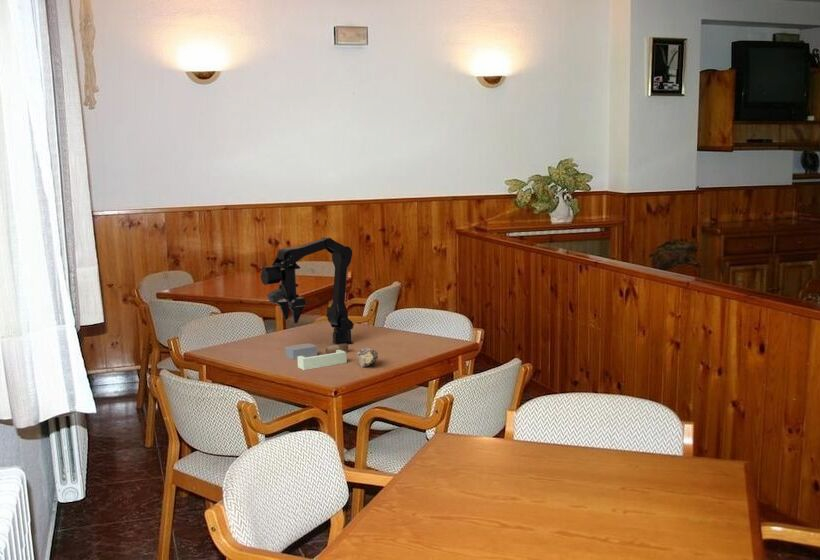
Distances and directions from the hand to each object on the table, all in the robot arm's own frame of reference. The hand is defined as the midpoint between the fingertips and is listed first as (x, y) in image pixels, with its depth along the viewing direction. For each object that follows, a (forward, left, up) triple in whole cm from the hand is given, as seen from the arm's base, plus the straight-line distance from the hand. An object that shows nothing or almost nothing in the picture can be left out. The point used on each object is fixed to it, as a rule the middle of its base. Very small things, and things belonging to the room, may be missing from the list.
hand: (290, 321), depth 322 cm
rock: (-13, +34, -13) cm, 39 cm away
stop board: (0, +25, -12) cm, 28 cm away
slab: (0, +8, -13) cm, 15 cm away
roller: (-13, +12, -13) cm, 22 cm away
